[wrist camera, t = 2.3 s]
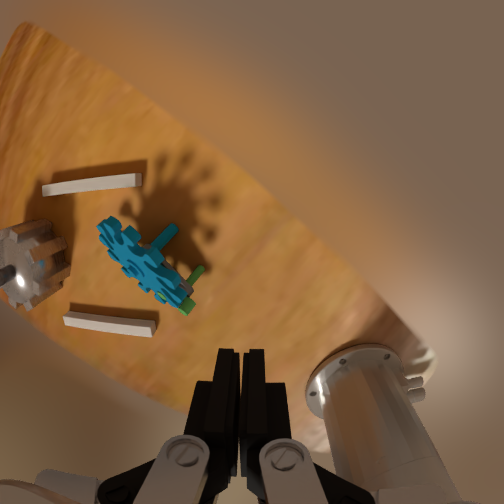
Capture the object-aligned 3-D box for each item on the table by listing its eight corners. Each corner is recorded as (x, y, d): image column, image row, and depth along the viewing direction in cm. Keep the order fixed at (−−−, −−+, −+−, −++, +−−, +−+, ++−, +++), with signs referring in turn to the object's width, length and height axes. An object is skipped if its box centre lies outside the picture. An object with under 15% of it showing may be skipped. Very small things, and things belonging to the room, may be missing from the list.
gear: (87, 241, 24) (98, 212, 16) (127, 204, 27) (156, 163, 20) (162, 318, 28) (206, 324, 20) (195, 277, 31) (247, 267, 23)
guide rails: (141, 173, 24) (135, 173, 23) (156, 330, 28) (152, 337, 27) (50, 184, 24) (42, 185, 23) (71, 319, 29) (65, 325, 27)
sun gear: (64, 217, 25) (7, 235, 17) (76, 292, 28) (30, 328, 19) (17, 221, 25) (-33, 237, 17) (29, 287, 28) (-15, 315, 19)
